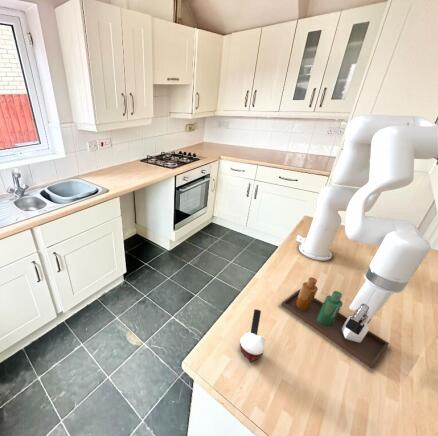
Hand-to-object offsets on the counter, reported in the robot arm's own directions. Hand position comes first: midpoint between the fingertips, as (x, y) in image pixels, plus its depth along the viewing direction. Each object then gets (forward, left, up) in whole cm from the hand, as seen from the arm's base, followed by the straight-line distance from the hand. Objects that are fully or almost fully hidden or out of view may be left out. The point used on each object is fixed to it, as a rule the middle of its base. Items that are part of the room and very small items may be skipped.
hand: (356, 325), depth 69 cm
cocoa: (-13, -28, -6) cm, 32 cm away
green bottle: (-7, 0, -5) cm, 9 cm away
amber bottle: (-14, 0, -5) cm, 15 cm away
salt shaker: (0, 0, -5) cm, 5 cm away
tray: (-5, 0, -6) cm, 8 cm away
